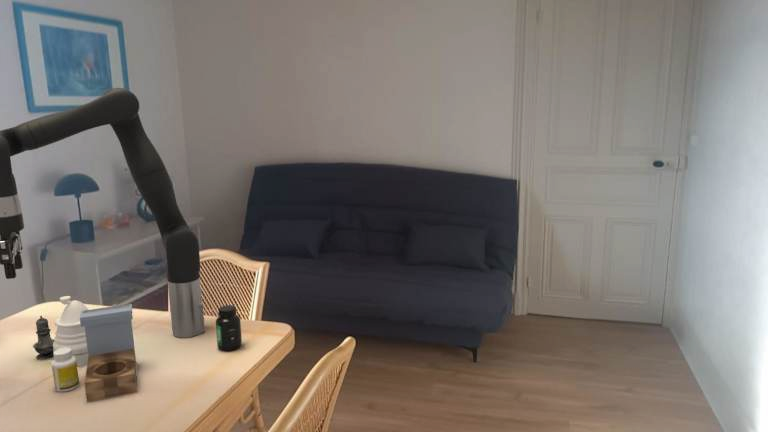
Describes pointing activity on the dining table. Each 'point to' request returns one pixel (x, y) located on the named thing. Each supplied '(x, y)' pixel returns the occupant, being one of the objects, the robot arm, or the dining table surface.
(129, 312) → the wall
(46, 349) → the dark grey chess piece
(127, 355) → the socket
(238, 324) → the supplement bottle
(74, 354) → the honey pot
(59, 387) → the supplement bottle
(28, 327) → the dining table surface
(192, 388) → the dining table surface
